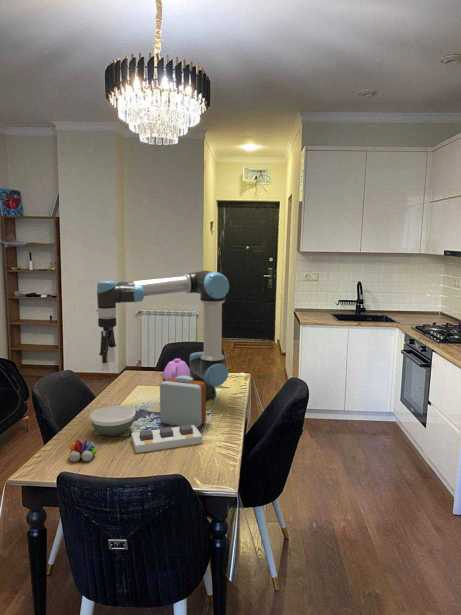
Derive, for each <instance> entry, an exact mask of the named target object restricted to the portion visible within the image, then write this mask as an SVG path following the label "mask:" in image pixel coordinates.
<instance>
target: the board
mask: <svg viewBox="0 0 461 615" xmlns="http://www.w3.org/2000/svg"><path fill="white" fill-rule="evenodd" d="M191 427H192V428H193V434H187V435H181V433H180V427H179V426H174V427H171V428H172V430H173V437H166V438H161V436H160V428H159V429H154V430H152V429H150V430H151V431H152V433H153V439H151V440H144V441H141V440H140V431H138V432H131V443H132V445H133V448H134V451H135V454H139V453H147V452H152V451H160V450H166V449H173V448H180V447H187V446H193V445H200V444H203V435H202V434H201V432H200V431H199V429H198V428H196V427H195V425H191Z"/></svg>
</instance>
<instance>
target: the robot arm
mask: <svg viewBox="0 0 461 615" xmlns="http://www.w3.org/2000/svg"><path fill="white" fill-rule="evenodd" d="M96 286H97V287H96V289H97V290H96V295H97V298H96V299H97V300H96V301H97V309H96V312H97V317H98V319H97V326H98V327H99V328H102V330H101V331H100V337H101V338H100V351H99V352H100V353H99V354H98V355H99V356H100V357H101V371H109V370H110V367H109V366H110V365H109V364H110V363H111V362H113V363H114V362H115V359H116V357H115V356H116V354H115V352H116V351H115V347H117V344H116V338H115V332H114V327H116V326H117V318H116V317H117V304H121V303H122V304H123V303H138V302H142V301H144V298H145V297H148V296H158V295H160V296H161V295H166V294H168V295H169V294H175V293H186V294H200V296H199V297H200V302H201V303H202V304H203V351H198V352H191V353H190V355H189V370H190V377H191V378H193V381H202V382H204V383H205V384H206V402H207V401H212V400H215V399H216V397H217V390H216V387H219V386H221V385H223V384H224V383H225V382H227V379H228V377H229V369H228V367H227V366H226V365H225V362H226V361H225V360H226V359H225V358H226V357H225V355H224V354H223V353H222V351H223V350H222V337H223V336H222V335H223V332H222V330H223V325H222V324H223V323H222V322H223V321H222V320H223V319H222V318H223V315H222V314H223V307H222V306H223V304H224V303H225V302H226V295H227V294H228V293H229V290H230V283H229V280H228V278H227V276H225V275H224V274H222V273H220V272H218V271H211V270H201V271H196V272H195V271H194V272H190V273H184V275H181V276H172V277H160V278H153V279H152V278H151V279H144V280H143V279H142V280H133V281H118V282H115V281H114V280H100V281H98V282H97V284H96ZM109 362H110V363H109Z"/></svg>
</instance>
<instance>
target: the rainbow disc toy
mask: <svg viewBox="0 0 461 615" xmlns="http://www.w3.org/2000/svg"><path fill="white" fill-rule="evenodd" d="M87 443H88V440H87V438H83V439H82V440H80V439H76V440H75V441H74V443H72V444H70V445H69V447H68V448H69V449H70V451H69V453H68V454H69V457H68V458H69V460H70V462H73V463H76V462H78V461H80V460H81V459H82V460H83V462H90V461H91V460H92V459H93V456H94V455H95V454H96V453H97V449H96V446H95V445H94V444H95V443H94V441H91V442H89V443H88V444H87Z"/></svg>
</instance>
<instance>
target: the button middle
mask: <svg viewBox="0 0 461 615" xmlns="http://www.w3.org/2000/svg"><path fill="white" fill-rule="evenodd" d="M172 428H173V427H171V426H169V427H161V428H159V429H160V436H161V438H166V437H173V430H172Z"/></svg>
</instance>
